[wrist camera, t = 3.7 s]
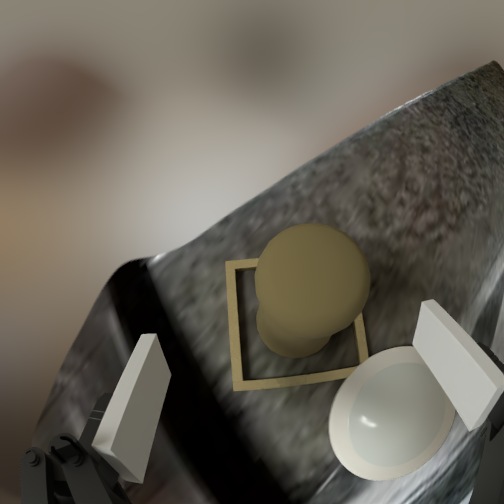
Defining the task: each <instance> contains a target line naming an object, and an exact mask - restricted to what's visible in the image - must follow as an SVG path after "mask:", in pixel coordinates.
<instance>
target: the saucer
mask: <svg viewBox="0 0 504 504" xmlns="http://www.w3.org/2000/svg"><path fill="white" fill-rule="evenodd" d="M357 366H358V367H357V368H356V369H355V370H354V371H353V372H352V373H351V375H350V376H349V377H347V378H345V379H344V381H343V382H342V384H341V385H340V387H339V388H338V390H337V392H336V394H335V396H334V399H333V401H332V404H331V408H330V412H329V417H328V435H329V441H330V444H331V447H332V449H333V451H334V454H335V455H336V457H337V458H338V459H339V461H340V462H341V463H342V464H343V465H344V466H345V467H346V468H347V469H348V470H349V471H350V472H352V473H353V474H355V475H357V476H359V477H361V478H365V479H369V480H376V481H384V480H391V479H396V478H399V477H402V476H405V475H407V474H409V473H411V472H413V471H415V470H417V469H418V468H420V467H421V466H422V465H424V464H425V463H426V462H427V461H428V460H429V459H431V458H432V457H433V455H434V454H435V453H436V452H437V451H438V450H439V448H440V447H441V446H442V444H443V443H444V441H445V439H446V438H447V436H448V434H449V431H450V429H451V426H452V424H453V421H454V416H455V411H456V409H455V407H454V405H453V404H452V402H451V401H450V399H449V397H448V396H447V394H446V393H445V391H444V390H443V388H442V387H441V385H440V384H439V382H438V381H437V379H436V378H435V376H434V375H433V373H432V372H431V370H430V369H429V367H428V366H427V364H426V363H425V361H424V360H423V359H422V357H421V356H420V354H419V353H418V351H417V350H416V349H415V347H412V346H401V347H395V348H391V349H387V350H384V351H381V352H378V353H376V354H374V355H372V356H370V357H369V358H368V359H367V360H366V361H364V362H363V363H362V364H360V365H357Z"/></svg>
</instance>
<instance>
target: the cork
mask: <svg viewBox="0 0 504 504" xmlns="http://www.w3.org/2000/svg"><path fill="white" fill-rule="evenodd" d="M370 279H371V275H370V270H369V266H368V261H367V259H366V257H365V255H364V253H363V252H362V250H361V248H360V247H359V245H358V244H357V243H356V242H355V241H354V240H353V239H352V238H351V237H349V236H348V235H347V234H346V233H345V232H343V231H341V230H339V229H337V228H335V227H333V226H330V225H325V224H319V223H306V224H298V225H295V226H293V227H290V228H288V229H285V230H283V231H282V232H280V233H279V234H278V235H277V236H275V237H274V238H273V239H272V240H270V242H269V243H268V245H267V246H266V248H265V250H264V251H263V253H262V254H261V256H260V258H259V260H258V264H257V268H256V272H255V286H256V295H257V298H258V300H259V303H260V304H259V308H258V312H257V316H256V321H257V330H258V332H259V335H260V337H261V339H262V341H263V342H264V343H265V344H266V346H267V347H268V348H269V349H270V350H271V351H273V352H275V353H277V354H279V355H280V356H283V357H288V358H293V359H296V358H304V357H308V356H310V355H312V354H315V353H317V352H319V351H320V350H321V349H322V348H323V347H324V346H325V345H326V344H327V343H328V341H329V339H330V337H331V336H332V335H333V334H335V333H337V332H339V331H341V330H343V329H345V328H346V327H348V326H349V325H350V324H351V323H352V322H353V321H354V320H355V319H356V318H357V317H358V316H359V315H360V314H361V312H362V310H363V307H364V305H365V303H366V301H367V298H368V296H369V290H370Z"/></svg>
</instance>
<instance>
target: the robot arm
mask: <svg viewBox="0 0 504 504" xmlns="http://www.w3.org/2000/svg"><path fill="white" fill-rule="evenodd" d="M412 344H413V346H414V347H415V349H416V350H417V351H418V353H419V354H420V356H421V357H422V359H423V360H424V361H425V363H426V364H427V366H428V367H429V369H430V370H431V372H432V373H433V375H434V376H435V378H436V379H437V381H438V382H439V384H440V385H441V387H442V388H443V390H444V391H445V393H446V394H447V396H448V397H449V399H450V401H451V402H452V404H453V405H454V407H455V409H456V410H457V412H458V413H459V415H460V417H461V418H462V420H463V422H464V423H465V425H466V427H467V428H468V430H469V432H470V431H472V430H473V429H475V428H477V427H479V426H481V425H482V424H483V422H484V421H485V419H486V418H487V416H488V417H489V419H490V421H489V423H488V424H487V425H486V427H485V428H484V430H483V431H482V432H481V435H480V436H483V434H484V433H485V432H486V430H487V432H486V435H485V437H486V438H485V444H484V449H483V454H482V458H481V463H480V467H479V471H478V475H477V478H476V482H475V486H474V489H473V492H472V495H471V498H470V501H469V504H504V364H503V363H502V362H501V361H499V359H498V358H497V356H496V355H494V353H493V352H492V351H491V350H490V349H489V348H488V347H487V346H485V345H484V344H482V343H480V342H479V343H476V342H475V341H474V340H473V339H472V338H471V337H470V336H469V335H468V334H467V333H466V332H465V331H464V330H463V329H462V327H461V326H460V325H459V324H458V323H457V322H456V321H455V320H454V319H453V318H452V317H451V316H450V315H449V314H448V313H447V312H446V311H445V310H444V309H443V308H442V307H441V306H440V305H439V304H438V303H437V302H436V301H435V300H434V299H432V300H427V301H423V302H422V304H421V309H420V314H419V318H418V323H417V327H416V331H415V336H414V340H413V343H412ZM170 377H171V373H170V371H169V368H168V365H167V363H166V360H165V357H164V355H163V352H162V349H161V346H160V343H159V341H158V338H157V335H156V334H142V335H141V337H140V339H139V341H138V343H137V345H136V347H135V349H134V351H133V353H132V355H131V357H130V359H129V361H128V364H127V366H126V368H125V370H124V372H123V374H122V376H121V378H120V381H119V383H118V385H117V387H116V389H115V391H114V394H112V393H104V394H103V395H102V396H101V397H100V398H99V399H98V400H97V402H96V404H95V406H94V409H93V411H92V413H91V415H90V419H88V421H87V424H86V426H85V428H84V430H83V432H82V435H81V437H80V439H79V441H78V440H77V439H76V438H75V437H74V436H72V435H71V434H67V433H63V434H59V435H57V436H55V437H54V438H53V439H52V440H51V441H50V444H49V446H48V451H49V453H50V454H51V455H46V454H45V453H44V452H43V451H42V450H41V449H40V448H38V447H32V448H29V449H27V450H26V451H25V452H24V454H23V455H22V459H21V504H132V503H131V502H130V500H129V499H128V497H127V495H126V494H125V492H124V490H123V488H122V487H121V485H120V483H119V482H118V481H117V480H118V476H119V475H120V476H121V477H122V478H123V479H125V480H127V481H132V482H137V483H143V479H144V475H145V471H146V467H147V463H148V459H149V455H150V451H151V447H152V443H153V439H154V435H155V431H156V427H157V424H158V420H159V416H160V413H161V409H162V405H163V402H164V398H165V395H166V391H167V387H168V384H169V381H170Z"/></svg>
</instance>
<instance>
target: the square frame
mask: <svg viewBox="0 0 504 504" xmlns="http://www.w3.org/2000/svg"><path fill="white" fill-rule="evenodd" d="M258 260H259V258H255V259H245V260H235V261H225V262H226V282H227V301H228V318H229V334H230V349H231V363H232V376H233V389H234V391H243V390H257V389H269V388H279V387H288V386H297V385H304V384H311V383H318V382H325V381H331V380H336V379H342V378H347V377H349V376H350V375H351V373H352V372H353V371H354V370H355V369H356V368H357V367H358V366H355V367H350V368H344V369H339V370H333V371H327V372H321V373H314V374H307V375H299V376H291V377H282V378H273V379H262V380H249V381H243V368H242V355H241V342H240V328H239V314H238V300H237V284H236V271H246V270H256V268H257V264H258ZM352 324H353V330H354V337H355V344H356V351H357V359H358V365H360V364H362V363H363V362H364V361H366V360H367V359H368V358H369V357H368V350H367V343H366V336H365V329H364V323H363V317H362V312H361V314H360V315H359V316H358V317H357V318H356V319H355V320H354V321H353V322H352Z"/></svg>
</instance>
